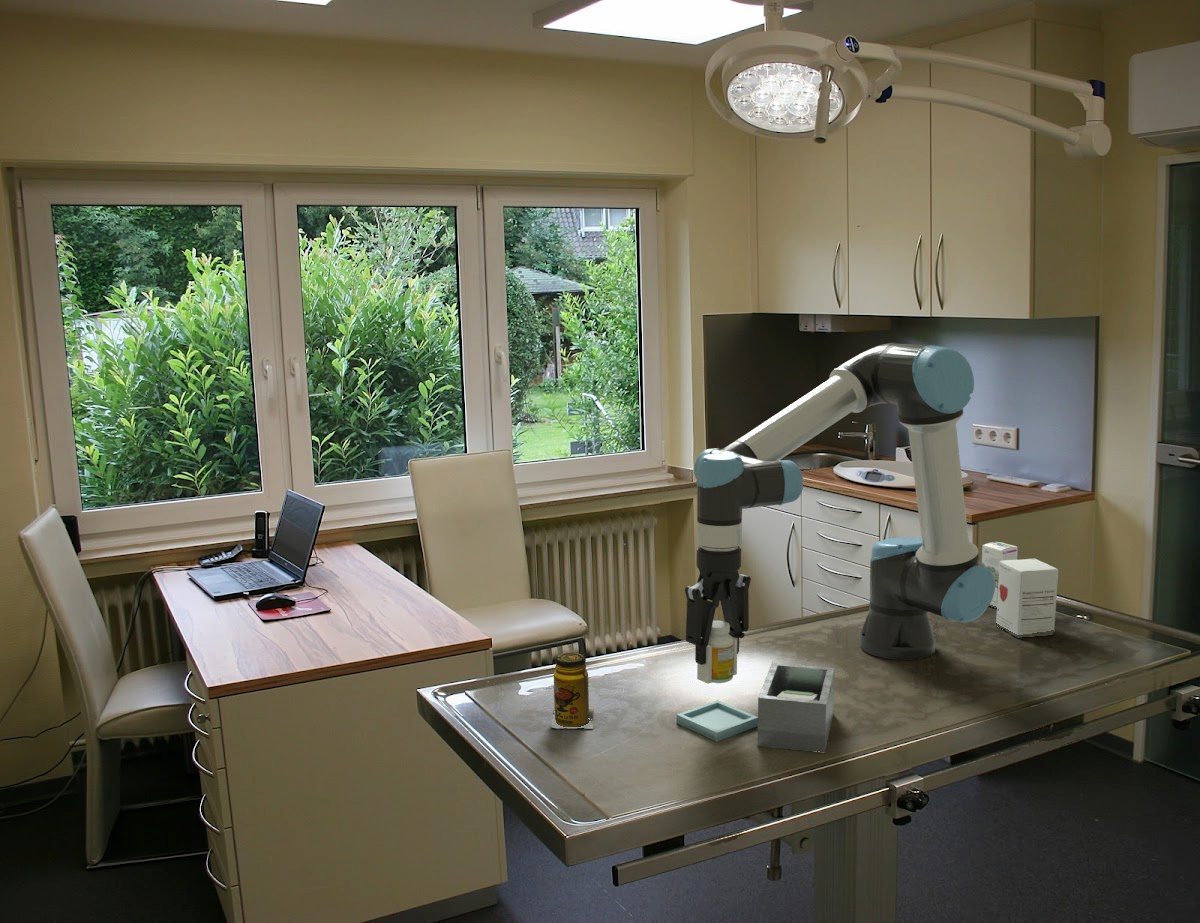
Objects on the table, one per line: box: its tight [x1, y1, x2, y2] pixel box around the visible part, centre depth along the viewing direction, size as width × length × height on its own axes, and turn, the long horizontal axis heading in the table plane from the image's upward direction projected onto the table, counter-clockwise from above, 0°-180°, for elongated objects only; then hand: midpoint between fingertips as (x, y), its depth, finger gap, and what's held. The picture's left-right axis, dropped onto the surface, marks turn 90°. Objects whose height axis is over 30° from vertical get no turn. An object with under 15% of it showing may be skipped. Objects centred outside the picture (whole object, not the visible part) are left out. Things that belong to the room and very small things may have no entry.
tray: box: [675, 699, 758, 742], centre depth 193 cm, size 10×10×2 cm
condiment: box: [553, 652, 595, 730], centre depth 194 cm, size 7×8×12 cm
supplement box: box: [995, 558, 1059, 635], centre depth 239 cm, size 9×9×15 cm
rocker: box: [777, 690, 818, 701], centre depth 190 cm, size 10×7×2 cm
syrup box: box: [981, 541, 1019, 607], centre depth 257 cm, size 6×6×14 cm
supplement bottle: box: [708, 620, 734, 684], centre depth 190 cm, size 5×5×10 cm
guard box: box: [756, 661, 835, 753], centre depth 190 cm, size 17×11×8 cm, turn 164°
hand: (717, 676), depth 191 cm, fingers closed on supplement bottle, 5 cm apart
